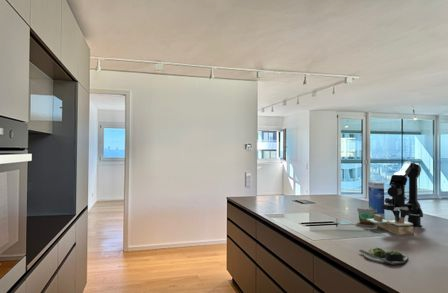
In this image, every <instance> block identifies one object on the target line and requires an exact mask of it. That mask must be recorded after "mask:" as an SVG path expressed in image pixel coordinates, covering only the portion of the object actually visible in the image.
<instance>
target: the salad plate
mask: <svg viewBox="0 0 448 293" xmlns="http://www.w3.org/2000/svg"><path fill="white" fill-rule="evenodd" d="M358 251H359V252H360V253H361V254H363V256H364V257H365V258H366V259H368V260H370V261H371V262H372V261H373V262H376V263H381V264H383V265H384V264H385V265H389V266H403V265H405V264H406V263H407V262H408V261H409V257H408V255H407V254H405V253H402V252H399V251H397V250H385V249H382V248H379V247H378V246H377V247H375V248H372V247H371V248H370V249H369V250H367V251H366V250H363V249H359V250H358Z"/></svg>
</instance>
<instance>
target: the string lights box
mask: <svg viewBox="0 0 448 293" xmlns="http://www.w3.org/2000/svg"><path fill="white" fill-rule="evenodd" d="M367 184H368V186H367V187H368V189H367V190H368V191H367V192H368V196H367V197H368V209H370V210H375V209H376V210H377V213H376V214H377V215H380V216H383V219H386V218H385V214H386V213H385V209H382V205H383V204H385V183H384V182H382V181H377V180H376V181H373V180H371V181H370V180H369V181H368V182H367Z"/></svg>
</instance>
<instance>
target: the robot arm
mask: <svg viewBox="0 0 448 293" xmlns="http://www.w3.org/2000/svg"><path fill="white" fill-rule="evenodd" d="M421 172H422V167H421V165H419V164H417V163H415V162H413V161H404V162H403V164H402V166H401V167H400V169H399V171H397V172H394V173H393V174H392V175H391V178H390V181H389V187H388V188H387V195H388V196H389V197H386V198H385V197H384V204H383V205H382V209H384V211H385V210H386V211H391V212H392V213H393V215H394V219H395V218H396V221H397V222H398V221H399V216H400V217H403V218H404V219H405V218H406V217H407V222H410V223H413V225H410V226H413V227H414V228H415V227H416V228H417V227H423V225H422V223H421V218H424V213H423V210H422V207H421V204H420V202H419V201H418V178H419V177H420V175H421ZM407 182H408V201H407V202H406V200H407V197H405V196H406V191H405V189H406V185H407ZM390 197H391V198H390Z"/></svg>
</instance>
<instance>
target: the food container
mask: <svg viewBox="0 0 448 293" xmlns="http://www.w3.org/2000/svg"><path fill="white" fill-rule="evenodd" d="M356 210H357V212H358V220H359V223H360V224H362V225H367V226H369V225H370V226H371V225H372V226H373V225H376V223H373V222H370V221H368V220H366V219H374V214H376V213H377V210H376V209H375V210H370V209H369V208H359V207H357V209H356Z"/></svg>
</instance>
